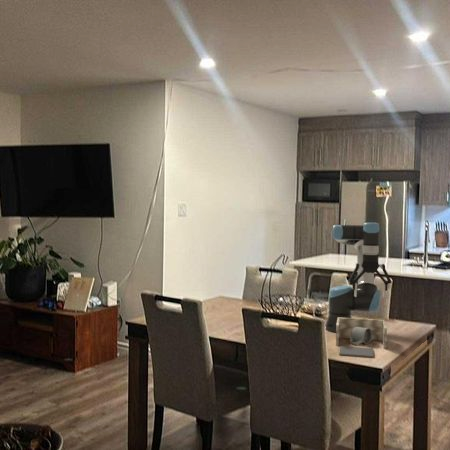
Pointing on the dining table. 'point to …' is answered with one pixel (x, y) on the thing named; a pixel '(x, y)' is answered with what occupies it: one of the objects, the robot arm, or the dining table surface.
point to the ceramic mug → (361, 335)
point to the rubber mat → (356, 351)
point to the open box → (376, 326)
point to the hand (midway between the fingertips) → (369, 296)
